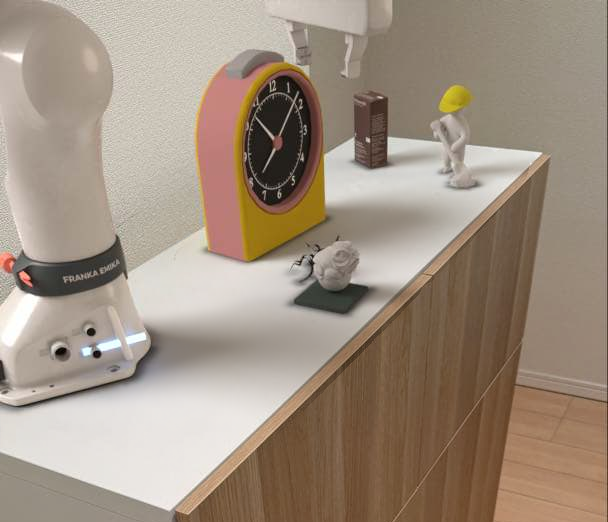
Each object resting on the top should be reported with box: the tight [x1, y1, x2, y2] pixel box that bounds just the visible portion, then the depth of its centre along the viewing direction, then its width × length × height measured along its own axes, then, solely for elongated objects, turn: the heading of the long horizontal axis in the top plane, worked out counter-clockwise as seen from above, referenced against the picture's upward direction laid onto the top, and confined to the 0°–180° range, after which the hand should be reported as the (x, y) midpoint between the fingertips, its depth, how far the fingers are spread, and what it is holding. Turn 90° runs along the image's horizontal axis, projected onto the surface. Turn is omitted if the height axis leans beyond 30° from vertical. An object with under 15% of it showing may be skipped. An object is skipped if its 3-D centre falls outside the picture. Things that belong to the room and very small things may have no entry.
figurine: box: [430, 84, 477, 189], centre depth 139 cm, size 10×9×15 cm
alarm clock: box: [194, 48, 326, 262], centre depth 120 cm, size 21×9×26 cm, turn 143°
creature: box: [290, 235, 341, 283], centre depth 115 cm, size 8×5×8 cm
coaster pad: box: [293, 278, 369, 315], centre depth 111 cm, size 8×8×1 cm
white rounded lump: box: [313, 240, 361, 291], centre depth 109 cm, size 6×7×7 cm
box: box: [353, 90, 389, 169], centre depth 149 cm, size 6×4×12 cm
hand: (326, 70), depth 91 cm, fingers open, 8 cm apart
